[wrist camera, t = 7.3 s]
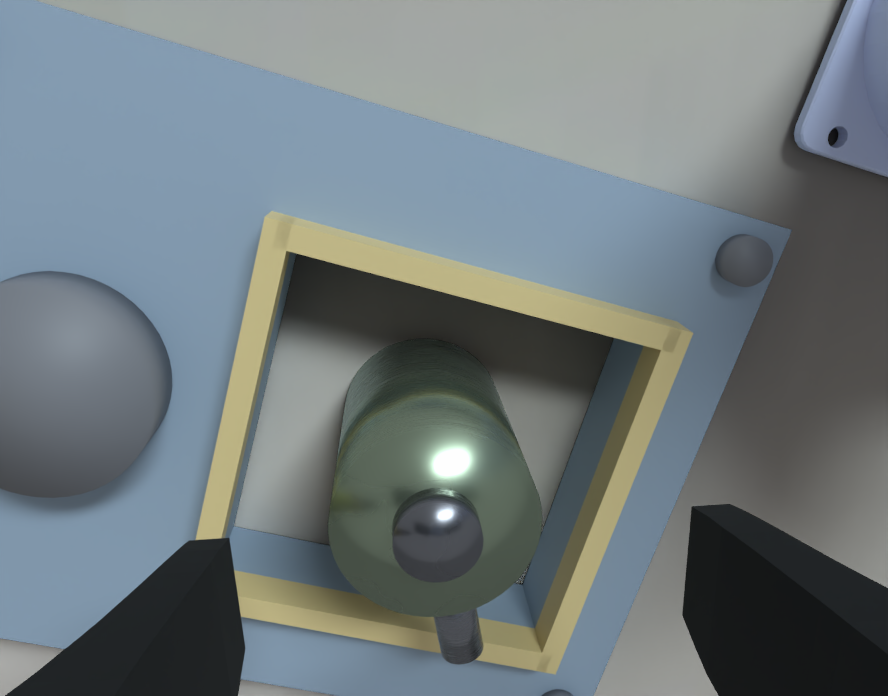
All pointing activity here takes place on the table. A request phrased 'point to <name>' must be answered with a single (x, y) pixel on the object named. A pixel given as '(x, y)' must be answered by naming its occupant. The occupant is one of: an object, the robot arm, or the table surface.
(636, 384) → the control panel
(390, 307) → the table surface
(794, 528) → the table surface
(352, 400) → the spout can
